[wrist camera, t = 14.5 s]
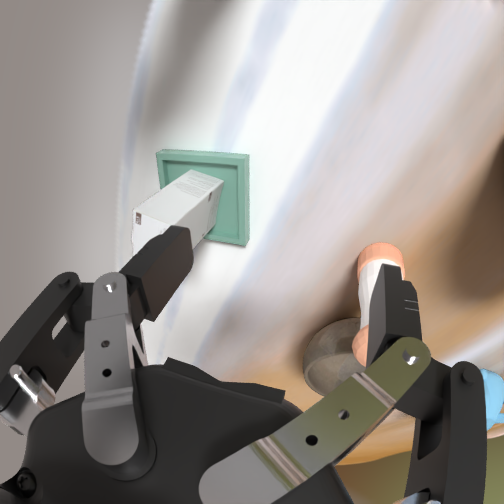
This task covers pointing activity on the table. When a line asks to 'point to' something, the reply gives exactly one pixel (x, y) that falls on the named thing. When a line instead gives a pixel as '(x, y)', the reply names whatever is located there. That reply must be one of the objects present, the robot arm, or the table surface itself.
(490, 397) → the teapot
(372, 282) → the salt shaker
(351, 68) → the table surface
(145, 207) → the skincare box
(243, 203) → the tray
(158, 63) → the table surface
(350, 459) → the table surface
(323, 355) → the bowl
